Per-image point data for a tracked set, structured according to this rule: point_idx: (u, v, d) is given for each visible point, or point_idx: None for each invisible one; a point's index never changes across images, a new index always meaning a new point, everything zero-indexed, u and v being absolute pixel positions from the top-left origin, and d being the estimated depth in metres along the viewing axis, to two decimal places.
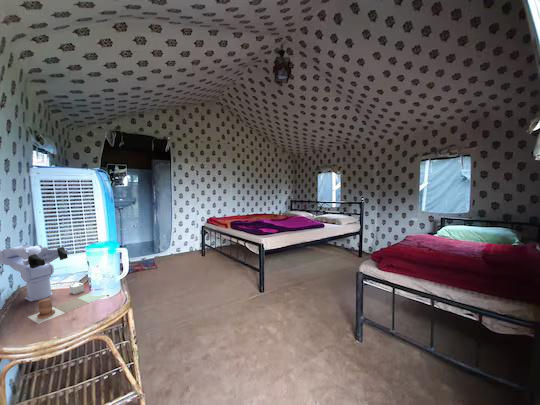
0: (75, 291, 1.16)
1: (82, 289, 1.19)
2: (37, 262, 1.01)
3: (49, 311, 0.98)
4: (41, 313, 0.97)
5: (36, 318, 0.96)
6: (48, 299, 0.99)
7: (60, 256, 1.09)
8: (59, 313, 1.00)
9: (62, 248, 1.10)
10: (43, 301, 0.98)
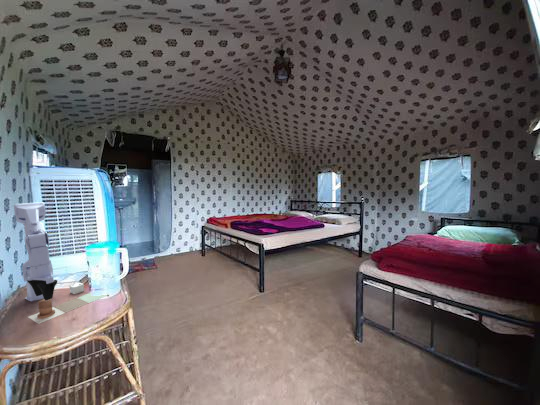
0: (75, 291, 1.16)
1: (82, 289, 1.19)
2: None
3: (49, 311, 0.98)
4: (41, 313, 0.97)
5: (36, 318, 0.96)
6: None
7: None
8: (59, 313, 1.00)
9: (40, 288, 0.93)
10: (43, 301, 0.98)
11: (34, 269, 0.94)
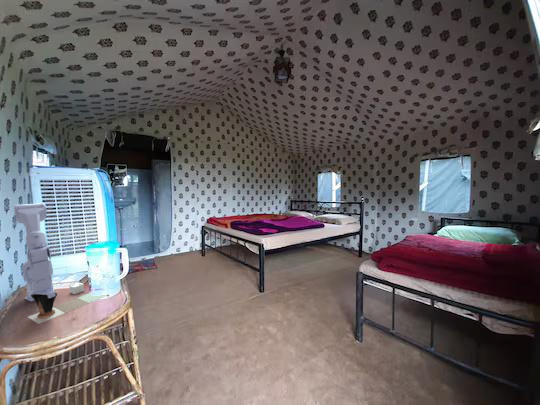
0: (75, 291, 1.16)
1: (82, 289, 1.19)
2: None
3: None
4: (41, 313, 0.97)
5: (36, 318, 0.96)
6: None
7: None
8: (59, 313, 1.00)
9: (40, 301, 0.94)
10: None
11: (36, 283, 0.95)
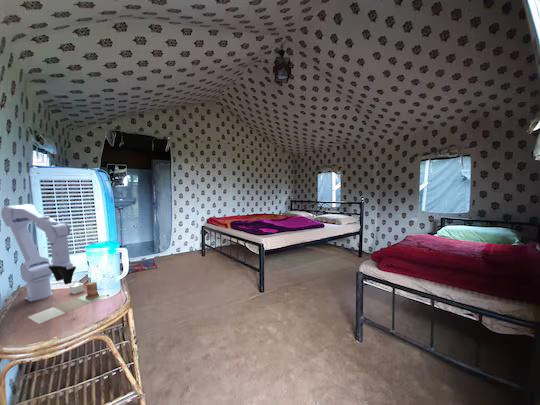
0: (75, 291, 1.16)
1: (82, 289, 1.19)
2: None
3: (95, 293, 1.13)
4: (89, 294, 1.12)
5: (36, 318, 0.96)
6: (94, 282, 1.14)
7: None
8: (59, 313, 1.00)
9: (61, 273, 1.03)
10: (90, 284, 1.12)
11: (55, 256, 1.04)
